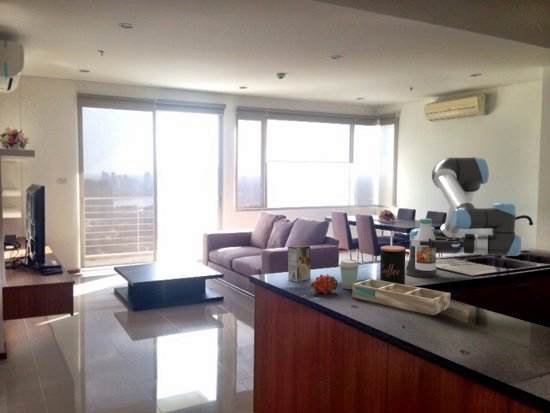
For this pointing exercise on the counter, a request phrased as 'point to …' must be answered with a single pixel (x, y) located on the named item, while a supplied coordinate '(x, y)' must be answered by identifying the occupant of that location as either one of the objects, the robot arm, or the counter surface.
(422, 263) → the milk bottle
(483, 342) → the counter surface
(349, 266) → the coffee cup
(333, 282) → the dragon fruit
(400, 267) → the coffee jar
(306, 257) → the coffee box
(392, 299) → the wooden compartment tray
